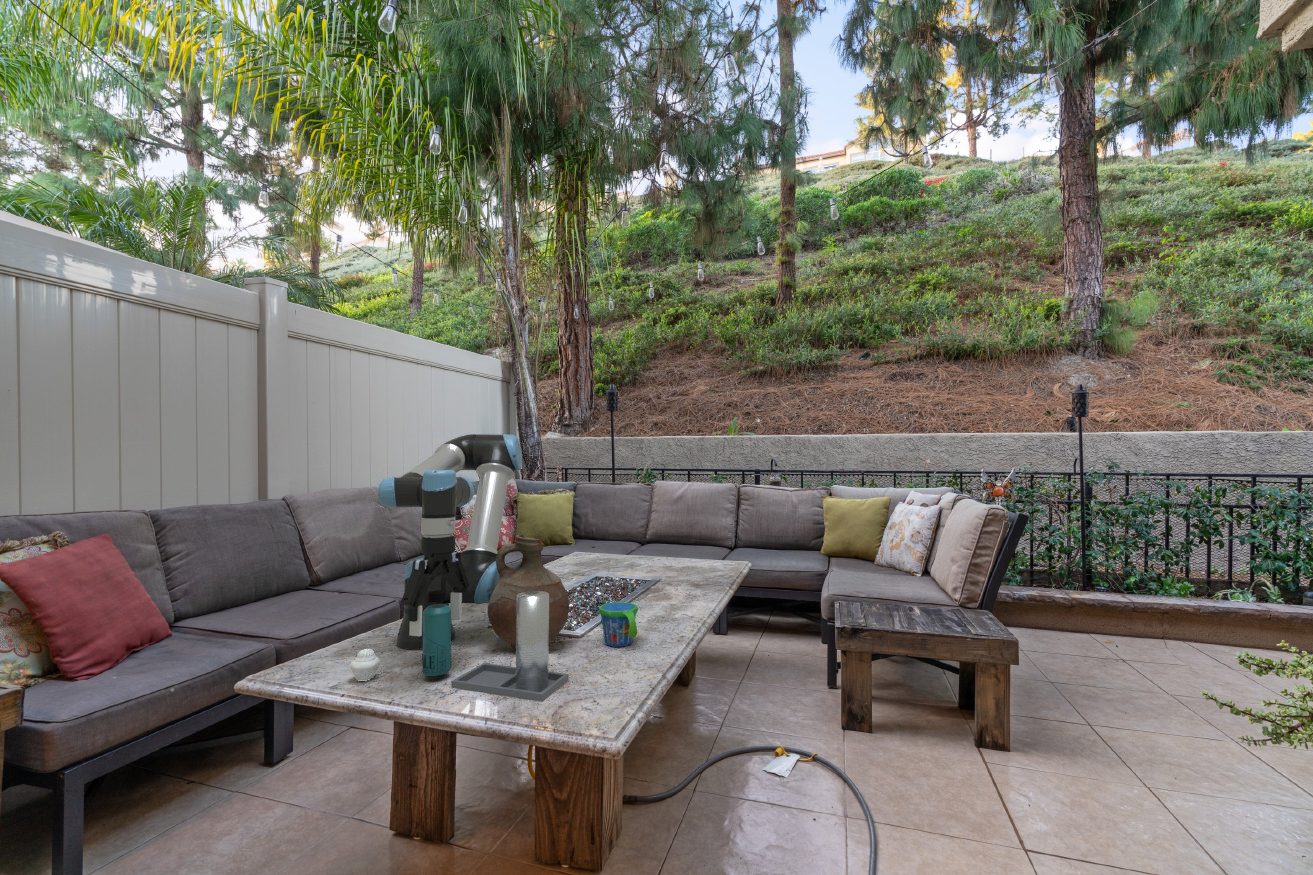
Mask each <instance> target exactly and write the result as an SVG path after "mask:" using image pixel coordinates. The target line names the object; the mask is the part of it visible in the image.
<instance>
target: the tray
mask: <svg viewBox="0 0 1313 875" xmlns="http://www.w3.org/2000/svg"><path fill="white" fill-rule="evenodd" d="M568 682H569V673H562V672H555V671H554V672H553V671H549V677H548V687H547V688H546V689H545V690H543V691H542V692H534V691H527V690H520V689H516V666H509V665H503V664H495V663H486V662H483V663H481V664H479V665H477V666H476V667H474V668H472V669H470V670H469V671H467V672H465V673H463V674H461V675H460V676H458V677H456V678H455V679H452V680H451V683H450V684H451V685H450V686H451V687H450V688H451V689H457V690H463V691H469V692H476V693H482V694H483V693H484V694H489V695H497V696H504V697H508V698H509V697H510V698H516V699H523V700H530V701H535V702H544V701H545V700H546V699H548V697H550V696H551V695H552V694H554V693H555V692H557V690H558V689H560V688H561V687H562V686H564V685H565V684H566V683H568Z"/></svg>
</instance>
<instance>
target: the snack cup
mask: <svg viewBox="0 0 1313 875" xmlns="http://www.w3.org/2000/svg"><path fill="white" fill-rule="evenodd" d="M638 611H639V607H638V605H637V604H635V603H632V602H625V601H623V602H621V601H619V602H618V601H616V602H607V603H603V604H601V605H599V608H598V613H599V614H600V617H601V618H600V622H601V625H602V630H603V638H604V644H606V645H607V646H610V647H613V648H614V647H615V648H618V647H619V648H622V647H627V646H629V645H630V644H632V643H633V638H635V637H636V636H637V635H638V629H637V622H636V616H637V613H638Z"/></svg>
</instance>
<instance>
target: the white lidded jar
mask: <svg viewBox="0 0 1313 875" xmlns="http://www.w3.org/2000/svg"><path fill="white" fill-rule="evenodd" d="M380 664H381V659H380V658H379V657H378V656H377V655H376V654H375V651H374V650H373V649H372V648H365V649H361V650H359V651H358V652H357V654H356V657H355V659H353V660H352V662H351V663H350V665H349V667H350V669H351V673H352V674H353V676H354V678H355V679H356V681H357V680H368V679H371V678H373V679H374V677H375V675H376V673H377V671H378V670H379V667H380Z"/></svg>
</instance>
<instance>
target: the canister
mask: <svg viewBox="0 0 1313 875" xmlns="http://www.w3.org/2000/svg"><path fill="white" fill-rule="evenodd" d="M549 648H550V641H549V593H548V592H544V591H528V592H522V593H519V594H517V604H516V648H515V667H516V689H520V690H527V691H534V692H542V691H543V690H545V689H546V688H547V687H548V677H549V672H550V670H549V664H550V663H549V661H550V659H549V658H550V656H549V654H550V650H549Z"/></svg>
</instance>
